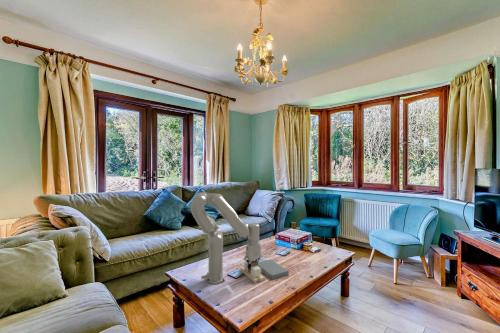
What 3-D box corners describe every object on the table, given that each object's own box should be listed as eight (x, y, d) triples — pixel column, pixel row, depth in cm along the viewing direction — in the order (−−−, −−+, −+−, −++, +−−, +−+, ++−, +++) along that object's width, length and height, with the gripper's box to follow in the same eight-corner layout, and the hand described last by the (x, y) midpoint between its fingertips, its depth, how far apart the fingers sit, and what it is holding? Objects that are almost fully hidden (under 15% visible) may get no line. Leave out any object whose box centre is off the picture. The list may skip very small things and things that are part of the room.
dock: (272, 281, 153) (272, 275, 153) (255, 268, 172) (255, 262, 172) (288, 276, 160) (288, 270, 160) (270, 264, 179) (270, 259, 179)
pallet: (254, 283, 148) (255, 268, 148) (240, 270, 165) (240, 257, 165) (265, 280, 152) (265, 266, 152) (250, 268, 169) (250, 255, 169)
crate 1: (247, 271, 159) (248, 264, 159) (244, 268, 164) (244, 261, 163) (254, 270, 162) (254, 263, 162) (250, 267, 166) (250, 260, 166)
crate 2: (254, 277, 151) (254, 270, 151) (250, 274, 156) (250, 266, 156) (260, 276, 154) (261, 268, 154) (256, 272, 158) (257, 265, 158)
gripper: (245, 245, 151) (244, 272, 151) (266, 241, 159) (265, 267, 159) (240, 241, 157) (239, 268, 157) (260, 238, 166) (260, 263, 166)
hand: (252, 267), depth 158 cm, fingers closed on pallet, 4 cm apart
